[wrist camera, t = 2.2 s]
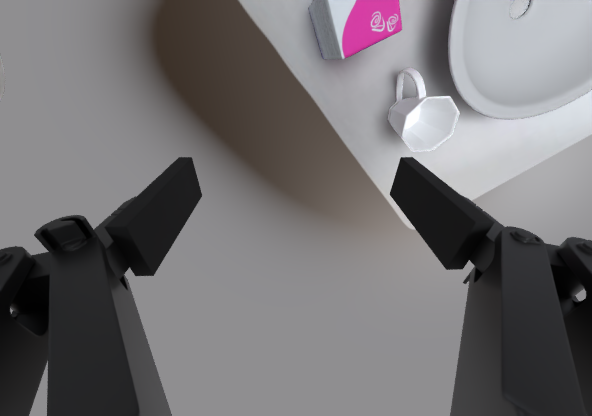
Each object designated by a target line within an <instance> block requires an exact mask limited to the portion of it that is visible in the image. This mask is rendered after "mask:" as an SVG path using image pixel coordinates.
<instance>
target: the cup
mask: <svg viewBox="0 0 592 416" xmlns="http://www.w3.org/2000/svg"><path fill="white" fill-rule="evenodd" d="M405 73H406V74H408V75H409V76H411V78H412V79H413V81H414V82H415V85H416V90H417V97H413V98H406V99H403V98H402V86H403V80H404V76H405ZM396 100H397V101H396V102H395V103H394V104H393V105H392V106H391V107H390V108H389V114H388V121H389V122H390V124H391V126H392V128H393V129H394V130H395V131H396V132H397V134H398V135H399V136H400V137H401V139H402V140H403V141H404V142H405V143H406V145H407V146H408V147H409V148H410V150H411V151H412V152H419V151H433V150H434V149H435V148H437V147H438V146H439V145H441V144H442V143H443V142H444V141H446V140H447V139H448V138H449V137H451V136H452V134H453V131H454V129H455V126H456V123H457V120H458V117H459V114H460V112H459V110H458V108H457V107H456V105H455V103H454V102H453V100H452V99H451V97H450V96H436V97H426V91H425V85H424V82H423V78H422V77H421V75H420V74H419V72H418V71H416V70H415V69H413V68H410V67H408V68H406V69H404V70H402V71H401V72H399V75H398V78H397V85H396Z"/></svg>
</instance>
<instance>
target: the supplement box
mask: <svg viewBox="0 0 592 416" xmlns="http://www.w3.org/2000/svg"><path fill="white" fill-rule="evenodd" d="M309 11H310V15H311V19H312V22H313V26H314V30H315V33H316V37H317V40H318V44H319V47H320V51H321V54H322V58H323V59H345V58H347V57H349V56H351V55H353V54H355V53H357V52H359V51H361V50H363V49H365V48H367V47H369V46H371V45H373V44H375V43H377V42H379V41H381V40H383V39H385V38H387V37H389V36H391V35H393V34H395V33H397V32H399V31H401V30H402V23H401V14H400V6H399V0H313V1H312V3H311V5H310V7H309Z"/></svg>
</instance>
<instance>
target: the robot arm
mask: <svg viewBox="0 0 592 416" xmlns="http://www.w3.org/2000/svg"><path fill="white" fill-rule="evenodd" d="M390 196H391V197H392V198H393V200H394V201H395V202H396V204H397V205H398V206H399V207H400V209H401V210H402V211H403V213H404V214H405V215H406V217H407V218H408V219H409V221H410V222H411V223H412V225H413V226H414V227H415V229H416V230H417V231H418V233H419V234H420V235H421V237H422V238H423V239H424V240H425V242H426V243H427V244H428V246H429V247H430V248H431V250H432V251H433V253H434V254H435V255H436V257H437V258H438V259H439V260H440V262H441V263H442V264H443V266H444V267H445V268H446V269H447V270H448V269H449V270H450V269H463V268H464V266H465V265H466V264H467V262H468V261H469V260H470V261H471V262H472V263H473V264H474V265H475V267H474V268H473V269H472V271H471V272H470V273H469V275H468V276H467V278H466V279H465V280H464V282H463V283H464V284H466V283H467V282H468V281H469V288H468V296H467V302H466V309H465V316H464V323H463V330H462V337H461V344H460V351H459V358H458V365H457V372H456V378H455V386H454V392H453V399H452V406H451V413H450V416H592V241H591V240H585V239H582V238H576V237H571V238H567V239H566V240H565V241H564V242H563V243H562V244H561V245H560V246H556V245H551V244H545V243H544V242H543V240H542V239H540V238H539V237H538V236H536V235H534V234H533V233H531V232H529V231H526V230H524V229H520V228H516V227H508V226H507V227H504V226H503V225H502V224H500V223H499V222H498V221H496V220H495V219H494V218H493V217H491V216H490V215H489V214H487V213H486V212H485V211H483V210H482V209H481V208H480V207H478V206H476V204H474V203H473V202H472V201H471V200H469V199H468V198H466V197H464V196H462V195H460V194H458V193H457V192H456V191H455V190H453V189H452V188H451V187H449V186H448V185H447V184H446V183H444V182H443V181H442V180H441V179H439V178H438V177H437V176H436V175H434V174H433V173H432V172H431V171H429V170H428V169H427V168H425V167H424V166H423V165H422V164H420V163H419V162H418V161H417V160H415V159H414V158H413V157H401V159H400V162H399V166H398V169H397V172H396V175H395V179H394V182H393V185H392V188H391V192H390ZM201 197H202V193H201V190H200V186H199V182H198V179H197V175H196V171H195V168H194V164H193V161H192V158H191V157H188V158H187V157H179V158H178V159H177V160H176V161H175V162H174V163H173V164H171V165H170V166H169V167H168V168H167V169H166V170H165V171H164V172H163V173H162V174H161V175H160V176H159V177H157V178H156V180H154V181H153V182H152V183H151V184H150V185H149V186H148V187H147V188H146V189H145V190H144V191H142V192H141V193H140V194H139V195H138V196H137V197H134V198H132V199H130V200H128V201H126V202H124V203H123V204H122V205H121V206H120V207H119V208H118V209H117V210H116V211H114V212H113V213H112V214H111V216H109V217H108V218H106V219H105V220H104V221H103V222H102V223H101V224H100V225H99V226H98V227H96V228H95V229H94V230H93V228H92V227H91V226H90V224H89V223H88V221H87V220H86V218H85V217H84V216H80V215H73V216H66V217H62V218H59V219H56V220H54V221H51V222H49V223H47V224H45V225H44V226H42V227H41V228H40V229H38V230H37V231H36V233H35V234H34V236H35V237H36V238H37V239H38V240H39V241H40V242H41V243H42V245H43V246H44V247H45V248H46V249H47V250H48V251H49V252H46V253H41V254H36V255H32V256H31V255H30V254H29V253H28V252H27V251H26V250H25V249H24V248H23V247H17V246H15V247H9V248H4V249H1V250H0V416H29V414H30V411H31V408H32V405H33V402H34V399H35V396H36V393H37V390H38V387H39V384H40V381H41V378H42V375H43V372H44V370H45V366H46V363H47V361H48V395H47V396H48V397H47V416H172V414H171V411H170V408H169V405H168V402H167V399H166V396H165V393H164V390H163V387H162V384H161V381H160V378H159V375H158V372H157V368H156V365H155V362H154V359H153V356H152V353H151V350H150V347H149V344H148V341H147V338H146V335H145V332H144V329H143V326H142V323H141V319H140V316H139V313H138V310H137V307H136V304H135V301H134V298H133V295H132V292H131V289H130V286H129V283H128V280H127V278H126V277H125V275H124V274H125V272H126V271H127V270H128V268H129V267H130V268H131V270H132V271H133V273H134V274H135V276H154V274H155V272H156V271H157V269H158V267H159V266H160V264H161V262H162V261H163V259H164V257H165V256H166V254H167V253H168V251H169V249H170V248H171V246H172V244H173V243H174V241H175V239H176V238H177V236H178V235H179V233H180V231H181V230H182V228H183V226H184V225H185V223H186V221H187V220H188V218H189V217H190V215H191V213H192V212H193V210H194V208H195V207H196V205H197V203H198V201H199V200H200V198H201ZM584 288H585V290H586V299H584V300H583V301H578V299H577V298H576V296H575V295H576V294H577V293H579V292H580V291H581V290H583V289H584ZM10 308H11V309H12V310H13V312H12V314H11V312H10Z"/></svg>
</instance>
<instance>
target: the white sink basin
mask: <svg viewBox="0 0 592 416" xmlns="http://www.w3.org/2000/svg"><path fill="white" fill-rule="evenodd" d="M513 2H514V0H455V2H454V6H453V10H452V15H451V20H450V26H449V37H448V58H449V67H450V72H451V76H452V79H453V82H454V85H455V87H456V89H457V91H458V93H459V94H460V96H461V97H462V99H463V100H464V101H465V102H466V103H467V104H468V105H469V106H470V107H471V108H473V109H474V110H475V111H477V112H479V113H480V114H483V115H485V116H488V117H492V118H496V119H505V120H513V119H523V118H529V117H534V116H537V115H541V114H544V113H547V112H550V111H553V110H555V109H557V108H560V107H562V106H564V105H566V104H568V103H570V102H572V101H574V100H576V99H578V98H579V97H581V96H583V95H585V94H586V93H588V92H589V91H591V90H592V0H531V3H530V6H529V8H528V10H527V11H526V12H525V13H524V14H523V15H522V16H521V17H519V18H517V19H513V18H512V17H511V16H510V9H511V6H512V4H513Z"/></svg>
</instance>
